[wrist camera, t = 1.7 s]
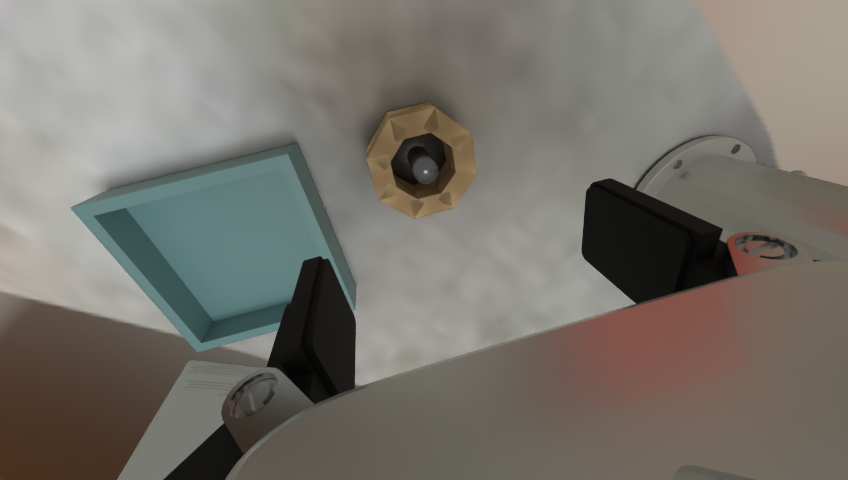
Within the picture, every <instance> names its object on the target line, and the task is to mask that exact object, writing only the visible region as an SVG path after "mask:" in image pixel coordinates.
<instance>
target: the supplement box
mask: <svg viewBox="0 0 848 480" xmlns="http://www.w3.org/2000/svg"><path fill="white" fill-rule="evenodd" d="M259 369H263V367H255V366H246V365H237V364H228V363H219V362H208V361H200V360H190V361H188V362H187V364H186V366H185V367H184V369H183V371H182V372H181V374H180V375H179V377H178V379H177V380H176V382H175V384H174V385H173V387H172V389H171V391H170V392H169V394H168V395H167V397H166V399H165V401H164V402H163V404H162V406H161V407H160V409H159V410H158V412H157V414H156V416H155V417H154V419H153V421H152V422H151V424H150V425H149V427H148V429H147V430H146V432H145V434H144V436H143V437H142V439H141V441H140V442H139V444H138V446H137V447H136V449H135V451H134V452H133V454H132V456H131V458H130V459H129V461H128V463H127V464H126V466H125V468H124V469H123V471H122V472H121V474H120V476H119V477H118V479H117V480H163V479H164V478H165V477H166V476H167V475H169V474H170V473H171V472H172V471H173V470H174V469H175V468H176V467H177V466H178V465H179V464H180V463H181V462H183V461H184V460H185V459H186V458H187V457H188V456H189V455H190V454H191V453H192V452H193V451H194V450H195V449H196V448H198V447H199V446H200V445H201V444H202V443H203V442H204V441H205V440H206V439H207V438H208V437H209V436H210V435H211V434H213V433H214V432H215V431H216V430H217V429H218V428H219V427H220V426H221V425H222V424H223V423H224V421H223V419H222V415H221V410H222V405H223V403H224V401H225V399H226V397H227V395H228V394H229V392H230V391H231V390H232V388H233V387H234V386H235V385H236V384H237V383H238V382H239V381H241V380H242V379H243V378H245V377H246V376H247V375H249V374H250V373H252V372H255V371H257V370H259Z"/></svg>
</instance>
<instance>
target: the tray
mask: <svg viewBox="0 0 848 480" xmlns="http://www.w3.org/2000/svg"><path fill="white" fill-rule="evenodd" d="M71 209H72V210H73V211H74V213H75V214H76V215H77V216H78V217H79V218H80V219H81V221H82V222H83V223H84V224H85V225H86V226H87V227H88V229H89V230H90V231H91V232H92V233H93V234H94V235H95V236H96V238H97V239H98V240H99V241H100V242H101V243H102V244H103V246H104V247H105V248H106V249H107V250H108V251H109V252H110V254H111V255H112V256H113V257H114V258H115V259H116V260H117V262H118V263H119V264H120V265H121V266H122V267H123V268H124V269H125V271H126V272H127V273H128V274H129V275H130V276H131V277H132V279H133V280H134V281H135V282H136V283H137V284H138V285H139V287H140V288H141V289H142V290H143V291H144V292H145V293H146V295H147V296H148V297H149V298H150V299H151V300H152V301H153V302H154V304H155V305H156V306H157V307H158V308H159V309H160V310H161V312H162V313H163V314H164V315H165V316H166V317H167V318H168V320H169V321H170V322H171V323H172V324H173V325H174V326H175V328H176V329H177V330H178V331H179V332H180V333H181V334H182V335H183V337H184V338H185V339H186V340H187V341H188V342H189V343H190V345H191V346H192V347H193V348H194V349H195V350H196V351H197V352H200V351H203V350H207V349H211V348H215V347H218V346H222V345H226V344H230V343H233V342H237V341H241V340H244V339H248V338H252V337H256V336H259V335H263V334H267V333H270V332H274V331H278V329H279V326H280V323H281V319H282V316H283V313H284V310H285V307H286V305H288V304H289V303H291V301H292V297H293V294H294V290H295V287H296V284H297V280H298V277H299V273H300V270H301V267H302V263H303V261H304V260H307V259H311V258H315V257H318V256H321V257H322V258H323V259H327V258H328V259H329V260H330V262H331V265H332V267H333V269H334V271H335V274H336V276H337V278H338V280H339V283H340V285H341V287H342V289H343V292H344V294H345V296H346V298H347V301H348V303H349V305H350V307H351V310H355V305H356V284H355V282H354V279H353V277H352V274H351V272H350V269H349V267H348V264H347V262H346V260H345V257H344V255H343V252H342V250H341V247H340V245H339V242H338V240H337V238H336V235H335V233H334V230H333V228H332V225H331V223H330V220H329V218H328V216H327V213H326V211H325V208H324V206H323V203H322V201H321V198H320V196H319V193H318V191H317V189H316V186H315V184H314V181H313V179H312V176H311V174H310V171H309V169H308V167H307V164H306V162H305V159H304V157H303V154H302V152H301V149H300V147H299V145H298V143H295V144H291V145H287V146H283V147H279V148H275V149H271V150H267V151H263V152H259V153H255V154H251V155H247V156H243V157H239V158H234V159H230V160H226V161H222V162H218V163H214V164H210V165H206V166H202V167H198V168H194V169H190V170H186V171H182V172H178V173H174V174H170V175H165V176H161V177H157V178H153V179H149V180H145V181H141V182H137V183H133V184H129V185H125V186H121V187H117V188H113V189H109V190H107V191H105V192H102V193H100V194H98V195H96V196H94V197H92V198H90V199H88V200H86V201H84V202H81V203H79V204H77V205H75V206H73V207H71Z"/></svg>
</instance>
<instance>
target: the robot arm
mask: <svg viewBox="0 0 848 480" xmlns="http://www.w3.org/2000/svg"><path fill="white" fill-rule="evenodd" d="M582 255H583V257H584V259H585V260H586V261H587V262H589V263H590V264H591V265H592V266H593V267H594V268H596V269H597V270H598V271H599V272H600V273H601V274H602V275H604V276H605V277H606V278H607V279H608V280H609V281H611V282H612V283H613V284H614V285H615V286H616V287H618V288H619V289H620V290H621V291H622V292H623V293H625V294H626V295H627V296H628V297H629V298H630V299H631V300H633V301H634V302H635V303H636V304H634V305H631V306H627V307H624V308H620V309H617V310H613V311H610V312H606V313H603V314H599V315H596V316H593V317H589V318H586V319H582V320H579V321H575V322H572V323H568V324H565V325H562V326H558V327H555V328H551V329H548V330H544V331H541V332H538V333H534V334H531V335H527V336H524V337H521V338H517V339H514V340H510V341H507V342H504V343H500V344H497V345H494V346H490V347H487V348H483V349H480V350H477V351H473V352H470V353H467V354H463V355H460V356H457V357H453V358H450V359H447V360H443V361H440V362H436V363H433V364H430V365H426V366H423V367H420V368H417V369H413V370H410V371H407V372H403V373H400V374H397V375H394V376H390V377H387V378H384V379H381V380H378V381H375V382H372V383H369V384H366V385H363V386H360V387H357V388H355V340H356V322H355V317H354V314H353V312H352V310H351V307H350V305H349V303H348V301H347V298H346V296H345V294H344V292H343V289H342V287H341V285H340V283H339V280H338V278H337V276H336V274H335V271H334V269H333V267H332V265H331V262H330V260H329V259H328V258H327V259H323V258H322V257H321V256H318V257H315V258H311V259H307V260H304V261H303V263H302V267H301V270H300V273H299V277H298V280H297V284H296V287H295V290H294V294H293V297H292V301H291V303H289V304H288V305H286V307H285V310H284V313H283V316H282V319H281V323H280V326H279V329H278V332H277V335H276V339H275V342H274V345H273V348H272V351H271V355H270V358H269V361H268V364H267V368H263V369H259V370H257V371H255V372H252V373H250V374H249V375H247V376H246V377H245V378H243V379H242V380H241V381H239V382H238V383H237V384H236V385H235V386H234V387H233V388H232V390H231V391H230V392H229V394H228V395H227V397H226V399H225V401H224V403H223V405H222V410H221V415H222V419H223V421H224V423H223V424H222V425H221V426H220V427H219V428H218V429H217V430H216V431H215V432H214V433H213V434H211V435H210V436H209V437H208V438H207V439H206V440H205V441H204V442H203V443H202V444H201V445H200V446H199V447H198V448H196V449H195V450H194V451H193V452H192V453H191V454H190V455H189V456H188V457H187V458H186V459H185V460H184V461H183V462H181V463H180V464H179V465H178V466H177V467H176V468H175V469H174V470H173V471H172V472H171V473H170V474H169V475H167V476H166V477H165V478H164V479H163V480H848V187H847V186H843V185H839V184H835V183H832V182H828V181H823V180H819V179H815V178H811V177H807V176H806V174H805V173H804V172H802V171H792V172H787V171H783V170H779V169H775V168H771V167H767V166H763V165H759V164H757V161H756V157H755V154H754V152H753V150H752V149H751V147H750V146H749V145H747V144H746V143H745V142H744V141H741V140H739V139H736V138H732V137H726V136H720V135H718V136H706V137H702V138H699V139H695V140H693V141H690V142H688V143H686V144H684V145H682V146H680V147H679V148H677V149H675V150H674V151H672V152H671V153H669V154H668V155H667V156H665V157H664V158H663V159H662V160H661V161H659V162H658V163H657V164H656V165H655V166H654V167H653V168H652V169H651V170H650V171H649V172H648V173H647V175H646V176H645V177H644V179H643V180H642V181H641V183H640V184H639V185H638V187H637V189H633V188H631V187H629V186H627V185H625V184H622V183H620V182H618V181H616V180H613V179H610V178H609V179H605V180H601V181H597V182H594V183H592V184H591V186H590V188H588V189H587V191H586V200H585V213H584V226H583V239H582Z"/></svg>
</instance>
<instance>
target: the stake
mask: <svg viewBox="0 0 848 480" xmlns="http://www.w3.org/2000/svg"><path fill="white" fill-rule="evenodd" d="M445 162H446V157H445V151H444V145H443V141H442V140H441V139H439V138H438V137H436V136H435V135H433V134H432V133H427V134H423V135H419V136H415V137H411V138H407V139H404V140H403V142H402V143H401V145H400V147H399V149H398V150H397V152H396V154H395V155H394V157H393V159H392V160H391V162H390V164H391V168H392V171H393V174H394V175H395V176H397V177H399V178H401V179H402V180H404V181H406V182H408V183H409V184H411V185H415V184H419V183H422V184H429V183H432V182H433V181H435V179H436V178H437V176H438V173H439V171H440V169H441V168H442V166H443V165H444V163H445Z"/></svg>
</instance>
